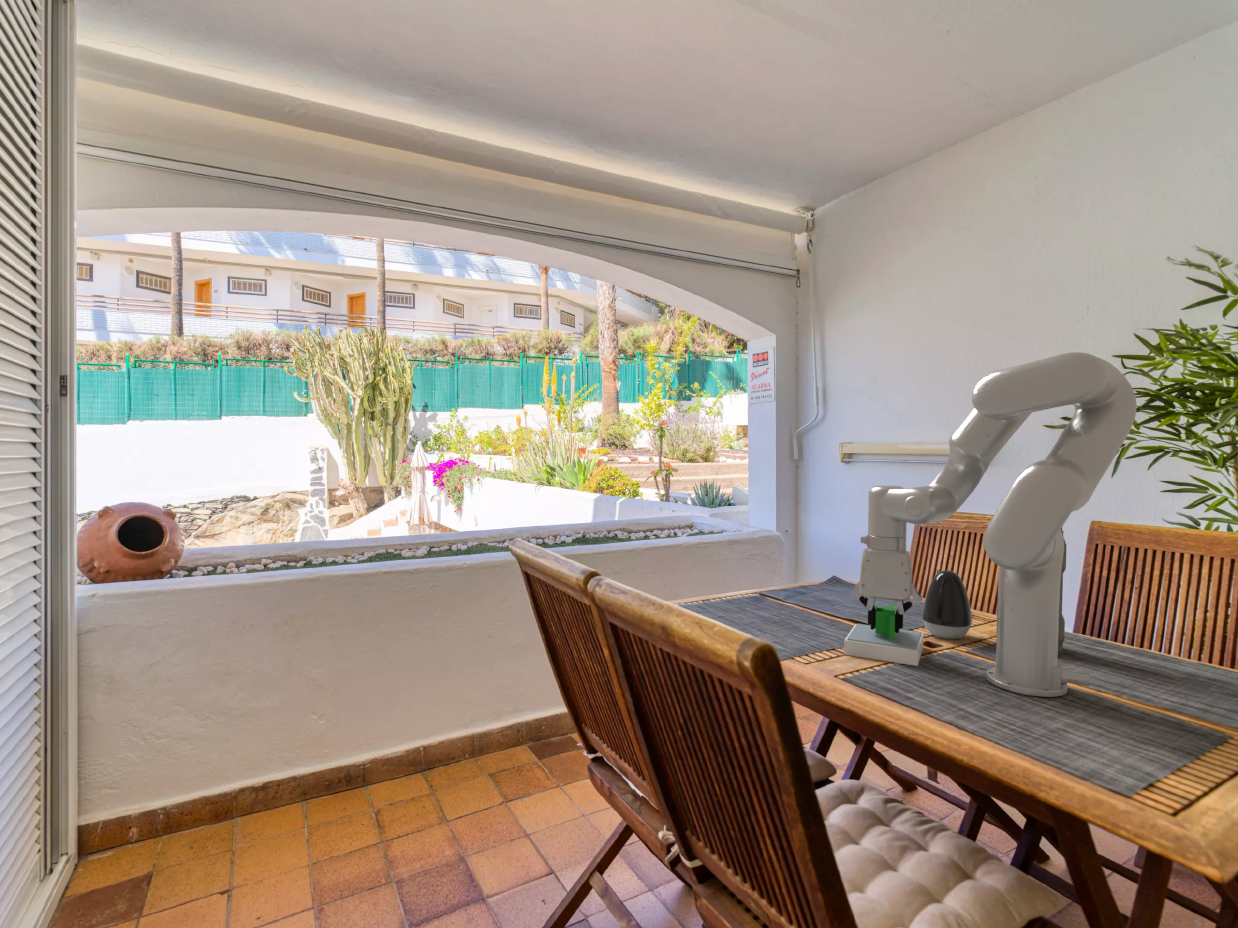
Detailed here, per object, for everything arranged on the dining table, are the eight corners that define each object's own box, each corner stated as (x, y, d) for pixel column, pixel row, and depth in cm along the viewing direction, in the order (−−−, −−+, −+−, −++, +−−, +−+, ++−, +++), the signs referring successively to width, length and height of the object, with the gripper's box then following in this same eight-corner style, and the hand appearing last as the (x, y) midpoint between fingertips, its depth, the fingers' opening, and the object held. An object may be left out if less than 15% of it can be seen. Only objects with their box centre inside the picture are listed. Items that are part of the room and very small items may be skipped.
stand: (923, 647, 140) (923, 631, 139) (917, 666, 127) (918, 649, 127) (855, 637, 146) (855, 622, 146) (844, 654, 134) (844, 638, 134)
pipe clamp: (876, 624, 142) (876, 603, 142) (894, 626, 141) (895, 605, 141) (874, 637, 132) (875, 614, 132) (894, 639, 131) (895, 616, 131)
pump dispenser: (959, 630, 153) (961, 566, 152) (979, 643, 142) (981, 575, 142) (914, 628, 154) (916, 565, 153) (931, 641, 143) (933, 574, 143)
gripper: (842, 543, 137) (840, 628, 137) (929, 549, 129) (927, 640, 129) (848, 538, 144) (847, 620, 144) (931, 544, 135) (930, 631, 136)
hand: (885, 628), depth 137 cm, fingers closed on pipe clamp, 4 cm apart
